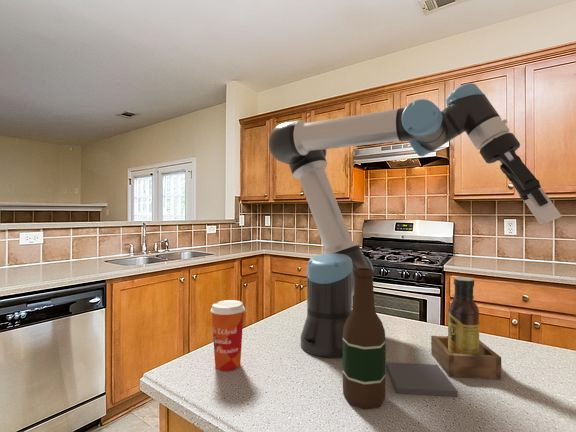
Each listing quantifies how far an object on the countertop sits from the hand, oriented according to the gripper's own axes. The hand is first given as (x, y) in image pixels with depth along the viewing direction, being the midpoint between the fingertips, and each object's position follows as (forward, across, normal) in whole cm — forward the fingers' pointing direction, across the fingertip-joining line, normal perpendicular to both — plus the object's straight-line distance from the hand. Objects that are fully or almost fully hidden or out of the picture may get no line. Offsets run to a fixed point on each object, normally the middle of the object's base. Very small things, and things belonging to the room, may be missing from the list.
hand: (550, 221), depth 70 cm
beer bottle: (+16, -30, +43) cm, 54 cm away
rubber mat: (+18, -17, +36) cm, 44 cm away
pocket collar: (+21, -5, +30) cm, 37 cm away
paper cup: (+2, -34, +70) cm, 78 cm away
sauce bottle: (+22, -4, +30) cm, 37 cm away
